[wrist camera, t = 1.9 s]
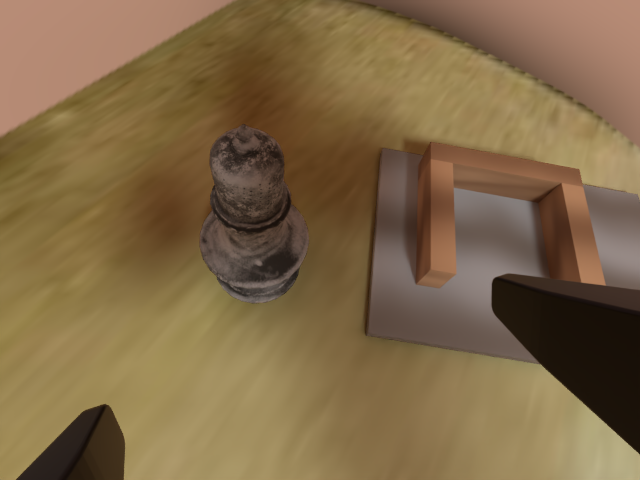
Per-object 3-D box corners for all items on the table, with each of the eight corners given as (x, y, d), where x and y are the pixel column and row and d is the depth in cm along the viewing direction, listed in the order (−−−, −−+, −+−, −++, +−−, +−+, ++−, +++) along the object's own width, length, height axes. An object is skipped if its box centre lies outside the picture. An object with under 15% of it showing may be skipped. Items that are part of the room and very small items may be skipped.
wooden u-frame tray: (687, 388, 23) (743, 383, 20) (366, 335, 22) (379, 322, 19) (631, 198, 29) (668, 174, 26) (380, 153, 29) (392, 123, 26)
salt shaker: (232, 210, 25) (200, 48, 14) (315, 237, 25) (347, 93, 14) (193, 290, 22) (118, 163, 12) (286, 321, 22) (298, 221, 11)
